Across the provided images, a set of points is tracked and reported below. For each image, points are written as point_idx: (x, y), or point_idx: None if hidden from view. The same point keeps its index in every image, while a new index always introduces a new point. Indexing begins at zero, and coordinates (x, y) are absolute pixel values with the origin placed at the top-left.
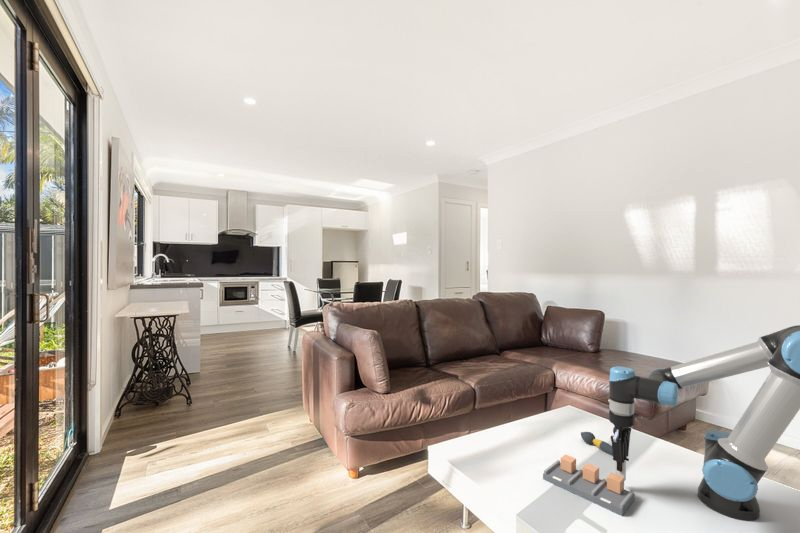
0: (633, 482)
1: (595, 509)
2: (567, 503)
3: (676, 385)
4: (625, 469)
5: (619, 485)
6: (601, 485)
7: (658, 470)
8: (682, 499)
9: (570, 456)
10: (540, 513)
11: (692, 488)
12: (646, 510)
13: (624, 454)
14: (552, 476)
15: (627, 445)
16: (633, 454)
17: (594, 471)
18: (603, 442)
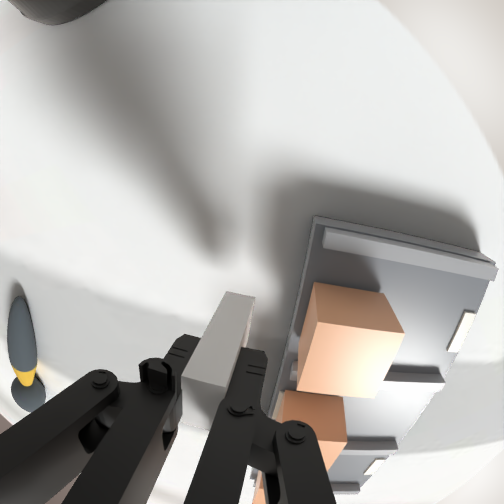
0: (139, 240)
1: (474, 339)
2: (465, 403)
3: None
4: (213, 332)
5: (398, 323)
6: None
7: (6, 175)
8: (142, 35)
9: (255, 497)
10: None
11: (46, 49)
12: (380, 153)
13: (156, 432)
14: (363, 474)
15: (43, 451)
16: None
17: (342, 443)
18: (15, 365)
